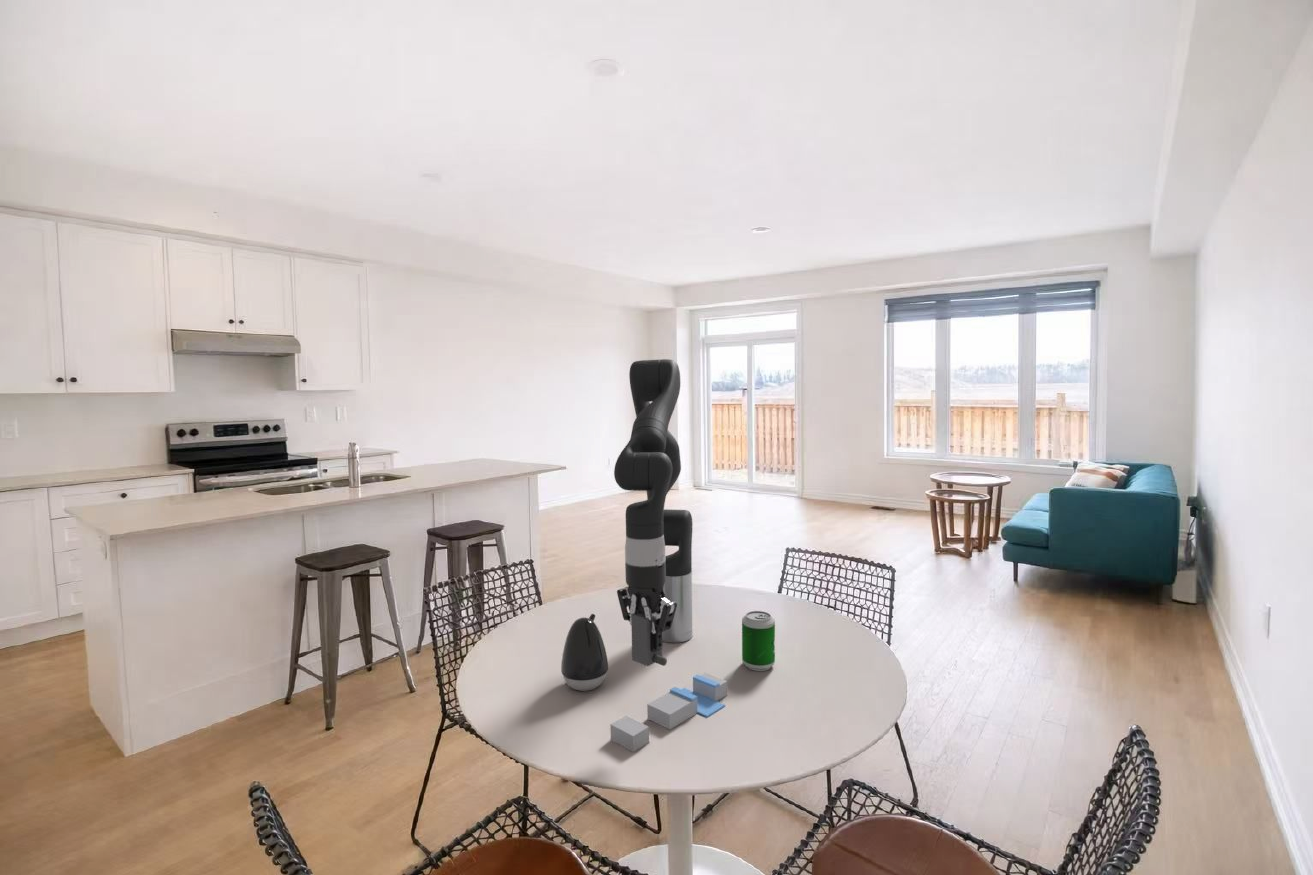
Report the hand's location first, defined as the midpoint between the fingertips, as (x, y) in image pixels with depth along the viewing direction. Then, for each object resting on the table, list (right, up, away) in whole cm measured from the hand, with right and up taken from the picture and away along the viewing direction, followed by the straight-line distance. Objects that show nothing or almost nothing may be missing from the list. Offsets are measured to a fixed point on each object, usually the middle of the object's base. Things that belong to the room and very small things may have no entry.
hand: (647, 646), depth 122 cm
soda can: (+26, -14, +28) cm, 41 cm away
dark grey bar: (+1, -3, -1) cm, 3 cm away
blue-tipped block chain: (+5, -16, +7) cm, 18 cm away
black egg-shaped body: (-14, -15, +20) cm, 29 cm away
